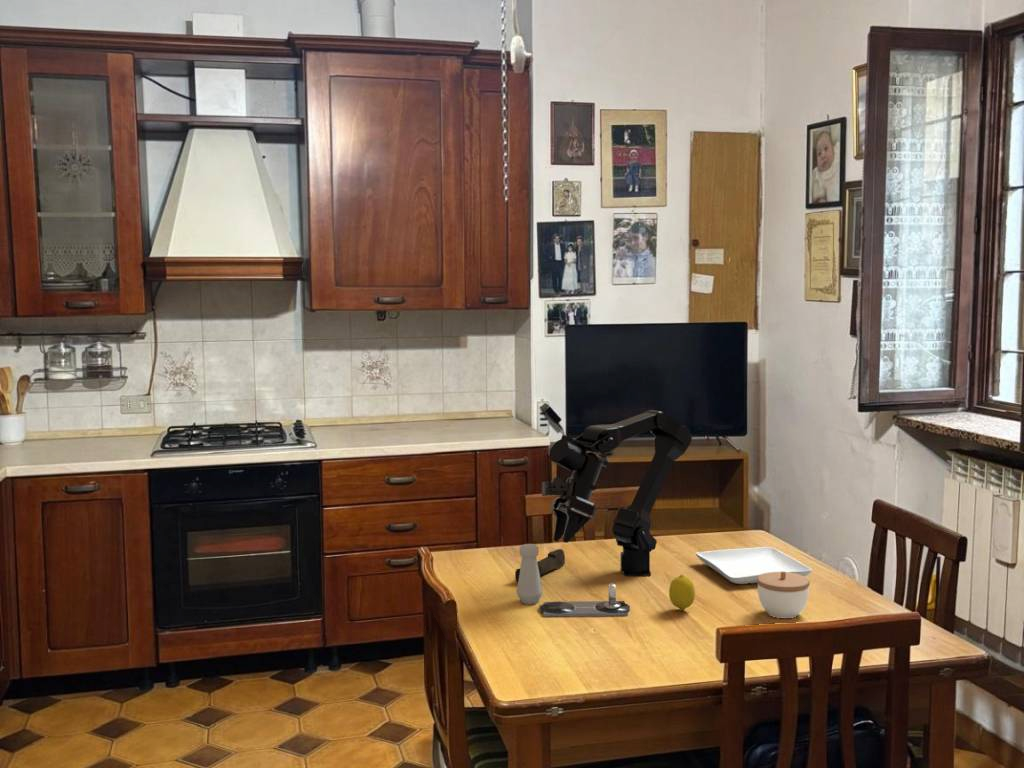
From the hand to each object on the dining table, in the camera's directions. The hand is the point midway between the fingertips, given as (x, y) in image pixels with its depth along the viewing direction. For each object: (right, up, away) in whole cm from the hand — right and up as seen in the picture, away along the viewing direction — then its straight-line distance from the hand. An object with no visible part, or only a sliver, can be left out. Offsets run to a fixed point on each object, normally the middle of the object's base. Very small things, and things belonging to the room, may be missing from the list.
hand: (559, 541), depth 236 cm
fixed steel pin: (+11, -13, -11) cm, 20 cm away
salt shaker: (-7, -13, -5) cm, 15 cm away
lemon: (+26, -13, -12) cm, 32 cm away
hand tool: (-4, -11, +16) cm, 20 cm away
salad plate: (+47, -10, +14) cm, 51 cm away
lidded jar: (+47, -13, -15) cm, 51 cm away
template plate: (+5, -13, -11) cm, 18 cm away
